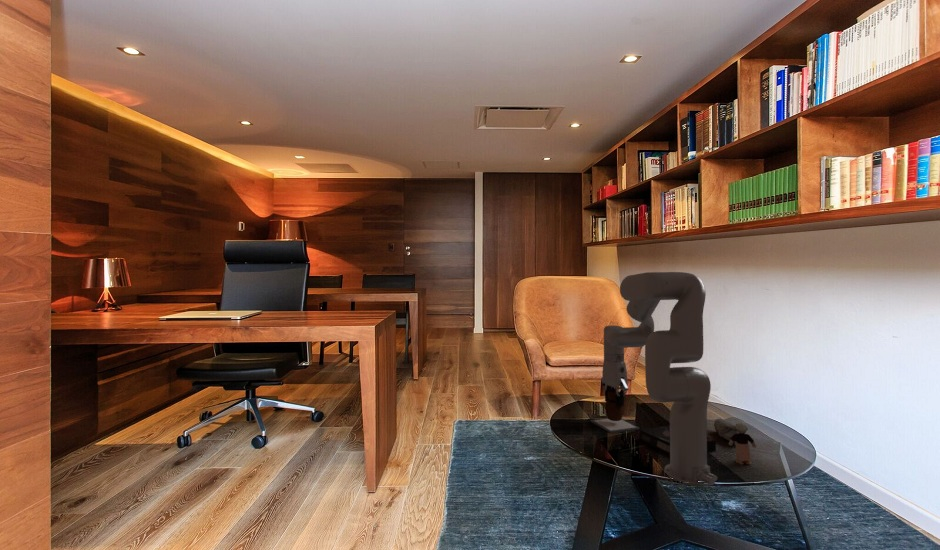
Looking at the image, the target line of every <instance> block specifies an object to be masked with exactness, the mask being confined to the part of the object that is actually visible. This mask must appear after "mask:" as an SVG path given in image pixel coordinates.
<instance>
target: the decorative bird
mask: <svg viewBox="0 0 940 550" xmlns="http://www.w3.org/2000/svg"><path fill="white" fill-rule="evenodd" d="M735 425H736V424H733V423H732V422H730V421H727V420H725V419H723V418H720V417H719V418H716V419H715V420H714V423H713V427H714V429H715V432H716V433H718V435H719V437H721V438H723V439H725V440H727V441H729V442H730V438H731V437H732V436H733V435H734V434H739V432H738V431H737V429H736V427H735ZM729 447H731V448H736V444H735V442H733V443H732V445H729Z"/></svg>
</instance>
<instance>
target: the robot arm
mask: <svg viewBox="0 0 940 550" xmlns="http://www.w3.org/2000/svg"><path fill="white" fill-rule="evenodd" d="M619 286H620V287H619V293H620V296H621V298H622V299H623V300H625V301H627V302H628V303H627V305H626V312H627V314H628V315H629V317H630V318H632V320H635V321H638V322H639V325H638V326H631V327H627V326H626V327H623V326H621V325H606V326H604V327H603V363H602V377H601V379H600V381H601V383H602V385H603V390H604V401H605V402H606V401H607V400H609V399H608V397H607V394H608V392H609V386H611V388H612V387H614V389H616V393H617V396H616V406H625V404H624V403H625V402H624V401H625V400H624V399H625V395H626V393H627V392H629V391H628V390H629V387H628V383H629V382H628V381H629V380H628V372H627V364H626V362H625V349H626V348H642V347H644V366H645V368H644V370H645V372H644V376H645V386H646V390H647V391H646V392H647V394H648V396H649V397H650V399H652V400H653V401H655V402H658V403H673V404H672V406H671V408H670V412H669V425H670V455H669V458H670V459H669V460H670V461H669V462H670V463H668V464H666V465H665V466H664V474H665V473H666V474H667V475H668V476H669V477H671V478H673V479H674V480H673V481H675V482H677V481H681V482H689V483H681V482H678V483H679V484H683V485H686V486H692V487H707V486H714V484H715V483H716V481H717V480H718V476H717V475H716V474H713V473H711V466H710V465H708V453H707V437H708V432H707V431H708V430H707V428H708V420H707V419H708V403H709V399H710V394H711V389H712V388H711V387H712V385H711V381H710V377H709V376H708V374H707V373H706V372H705V371H704V370H702V369H701V368H698V367H694V366H676V367H675V366H673V367H671V365H672V364H689V363H695V362H696V363H697V362H698V361H700V360H701V359H703V355H704V320H703V319H704V318H703V316H704V308H705V303H706V288H705V285H704V283H703V281H702V279H701V278H700V277H698V275H695V274H694V273H690V272H685V271H684V272H682V271H665V272H664V271H663V272H662V271H653V272H650V271H649V272H640V273H636V274H630V275H627V276H625V277H624V278H623V280H622V281H621V283H620V285H619ZM669 300H671V301H673V300H674V301H675V300H677V301H676V303H675V304H674V306H673V307H672V310H671V312H670V316H669V317H670V318H669V321H670V326H669V330H668V329H667V330H655V322H654V321H655V320H654V318H653V316H652V315H653V313H654V312H655V310H656V308H657V307H658V306H659V304H660V303H661V302H660V301H669ZM666 474H665V475H666ZM667 475H666V476H667ZM668 476H667V477H668ZM669 477H668V478H669ZM671 478H670V479H671ZM698 481H705V482H698ZM704 483H708V484H704Z"/></svg>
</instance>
